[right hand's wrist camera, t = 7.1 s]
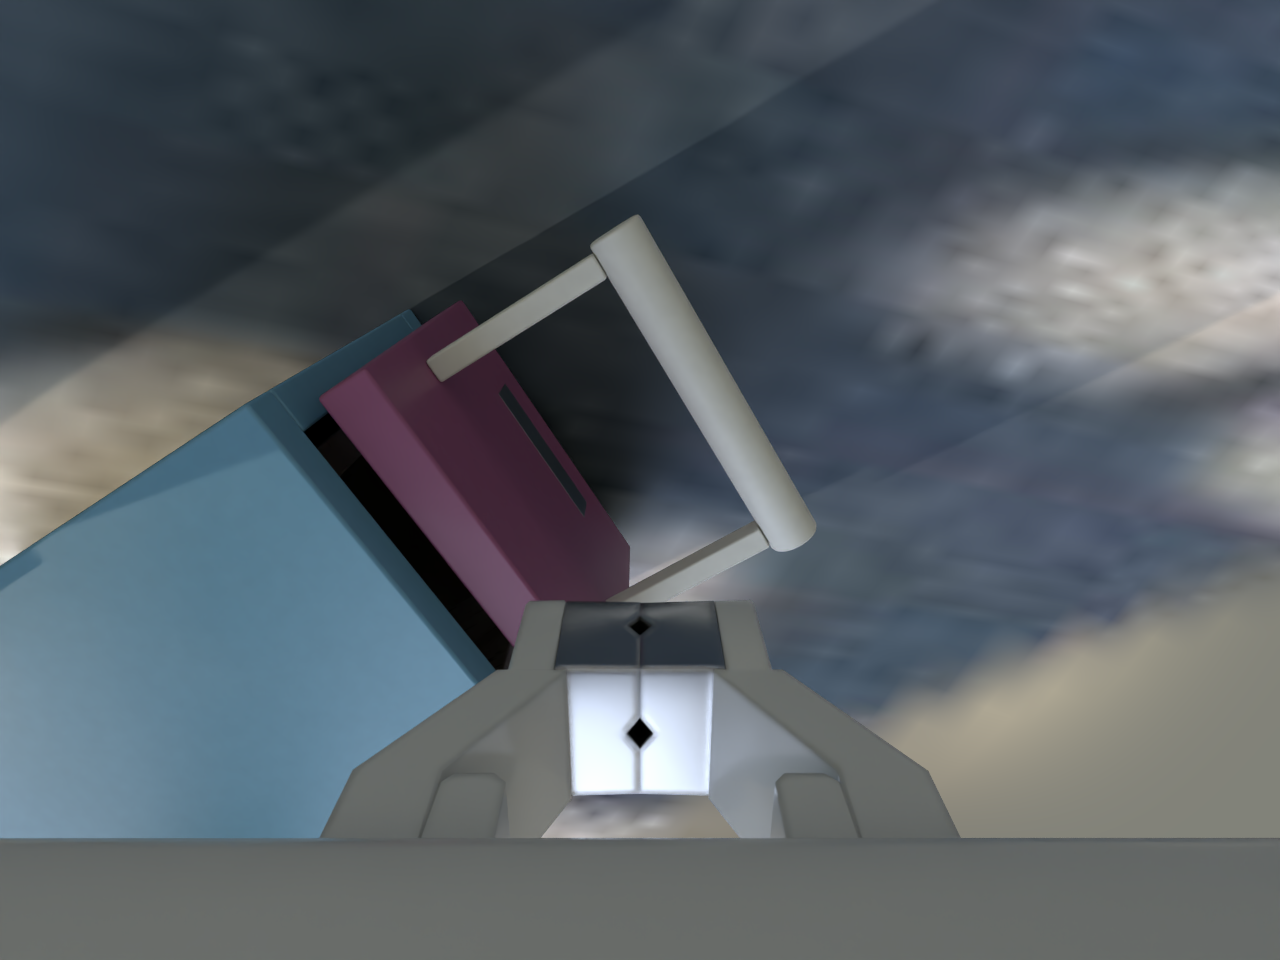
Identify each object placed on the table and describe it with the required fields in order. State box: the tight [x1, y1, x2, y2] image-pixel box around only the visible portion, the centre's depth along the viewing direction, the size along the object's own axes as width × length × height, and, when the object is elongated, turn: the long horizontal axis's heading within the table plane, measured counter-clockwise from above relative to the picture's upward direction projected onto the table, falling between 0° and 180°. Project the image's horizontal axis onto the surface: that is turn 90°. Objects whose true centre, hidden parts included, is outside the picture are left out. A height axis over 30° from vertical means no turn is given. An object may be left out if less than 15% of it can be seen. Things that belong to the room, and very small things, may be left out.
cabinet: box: [0, 309, 572, 838], centre depth 22 cm, size 17×11×11 cm, turn 121°
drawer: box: [307, 215, 816, 670], centre depth 21 cm, size 22×10×9 cm, turn 121°
